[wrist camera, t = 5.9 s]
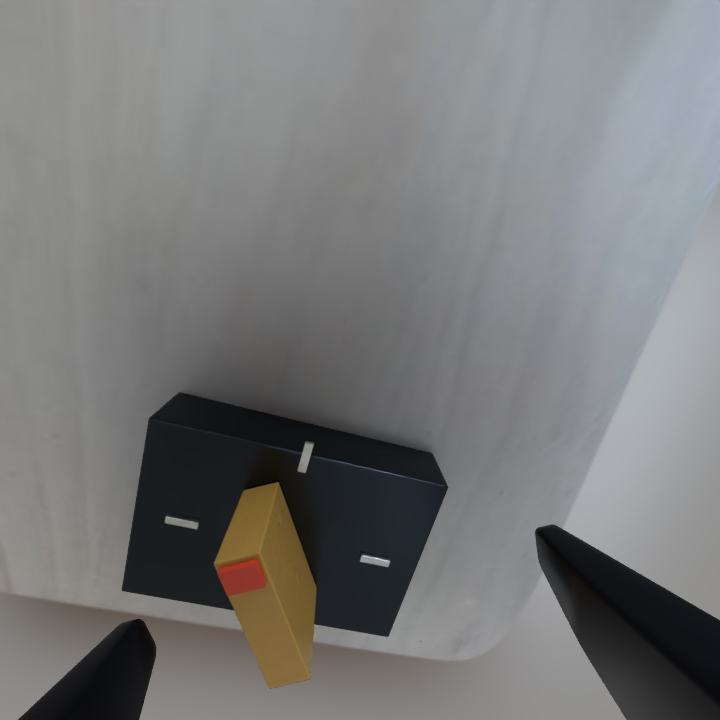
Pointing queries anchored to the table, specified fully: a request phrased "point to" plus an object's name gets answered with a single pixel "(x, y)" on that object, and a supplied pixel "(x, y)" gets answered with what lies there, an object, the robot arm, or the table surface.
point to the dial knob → (270, 584)
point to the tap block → (304, 500)
